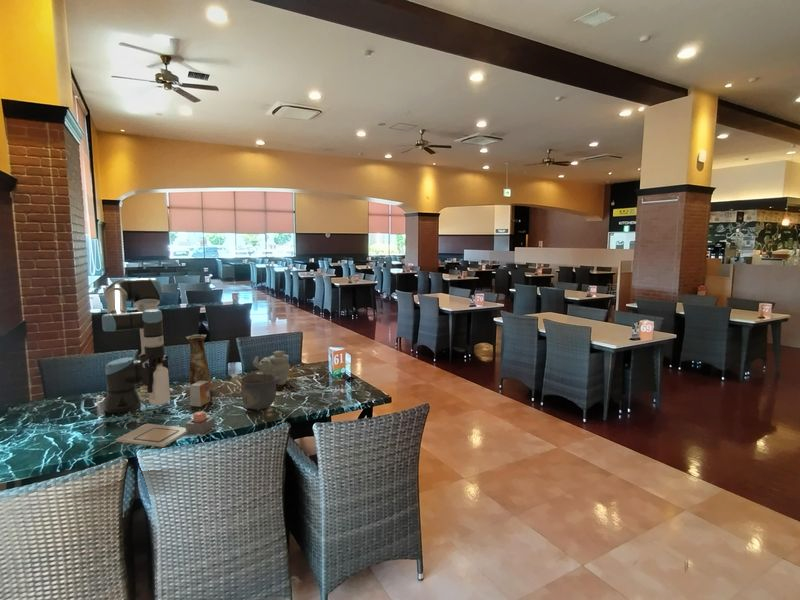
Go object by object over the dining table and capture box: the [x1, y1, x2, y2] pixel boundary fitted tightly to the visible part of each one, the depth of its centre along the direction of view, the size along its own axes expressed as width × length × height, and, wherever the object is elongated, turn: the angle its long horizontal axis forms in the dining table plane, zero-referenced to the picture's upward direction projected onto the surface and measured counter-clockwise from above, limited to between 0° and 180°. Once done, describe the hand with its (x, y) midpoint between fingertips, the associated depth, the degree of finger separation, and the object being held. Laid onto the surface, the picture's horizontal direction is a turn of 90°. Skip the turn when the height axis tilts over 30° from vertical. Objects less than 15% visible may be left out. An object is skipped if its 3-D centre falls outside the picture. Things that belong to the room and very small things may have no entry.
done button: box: [192, 410, 207, 423], centre depth 190 cm, size 5×5×4 cm
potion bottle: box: [148, 363, 171, 406], centre depth 198 cm, size 8×8×18 cm
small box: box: [189, 381, 211, 407], centre depth 221 cm, size 8×6×10 cm
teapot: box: [252, 350, 291, 386], centre depth 253 cm, size 16×15×19 cm
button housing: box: [184, 416, 215, 435], centre depth 191 cm, size 8×8×4 cm
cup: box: [239, 372, 278, 410], centre depth 214 cm, size 18×18×15 cm
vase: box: [185, 333, 211, 386], centre depth 239 cm, size 10×11×30 cm
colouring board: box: [115, 423, 188, 448], centre depth 184 cm, size 22×16×1 cm
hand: (157, 396), depth 198 cm, fingers open, 5 cm apart
